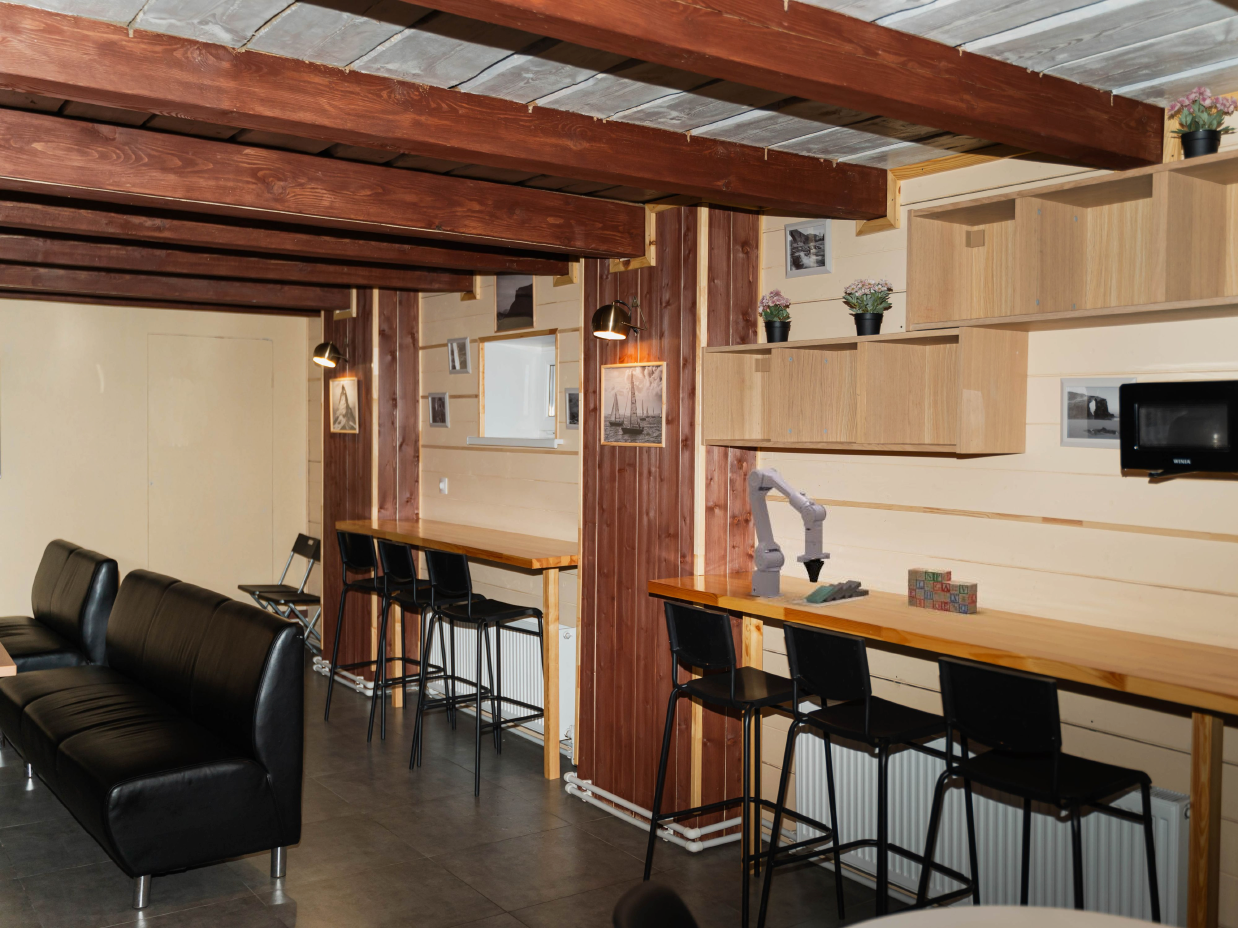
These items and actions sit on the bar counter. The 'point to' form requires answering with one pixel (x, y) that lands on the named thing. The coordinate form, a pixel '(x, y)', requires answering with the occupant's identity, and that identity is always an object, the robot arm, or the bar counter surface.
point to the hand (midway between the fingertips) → (813, 582)
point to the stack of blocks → (940, 591)
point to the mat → (827, 602)
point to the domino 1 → (820, 594)
